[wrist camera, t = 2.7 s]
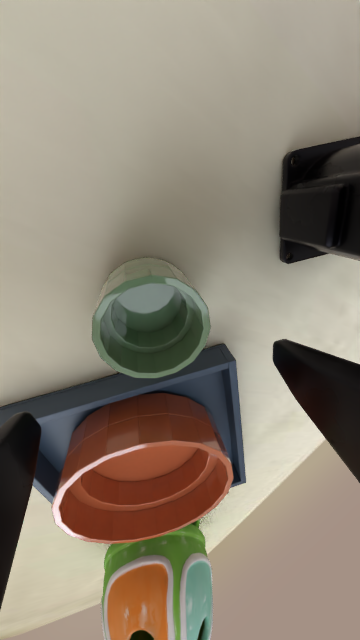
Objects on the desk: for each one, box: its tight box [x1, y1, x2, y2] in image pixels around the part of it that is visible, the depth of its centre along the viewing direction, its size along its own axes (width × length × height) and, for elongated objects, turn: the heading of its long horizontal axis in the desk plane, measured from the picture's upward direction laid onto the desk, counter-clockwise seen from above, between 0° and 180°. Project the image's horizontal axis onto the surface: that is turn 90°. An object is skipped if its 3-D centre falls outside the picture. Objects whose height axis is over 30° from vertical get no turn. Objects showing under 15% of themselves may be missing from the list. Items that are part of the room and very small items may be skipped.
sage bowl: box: [92, 257, 211, 378], centre depth 13 cm, size 6×6×4 cm
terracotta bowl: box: [51, 393, 233, 544], centre depth 20 cm, size 14×14×5 cm
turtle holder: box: [101, 519, 213, 640], centre depth 26 cm, size 12×18×12 cm
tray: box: [0, 344, 246, 503], centre depth 21 cm, size 18×18×2 cm
